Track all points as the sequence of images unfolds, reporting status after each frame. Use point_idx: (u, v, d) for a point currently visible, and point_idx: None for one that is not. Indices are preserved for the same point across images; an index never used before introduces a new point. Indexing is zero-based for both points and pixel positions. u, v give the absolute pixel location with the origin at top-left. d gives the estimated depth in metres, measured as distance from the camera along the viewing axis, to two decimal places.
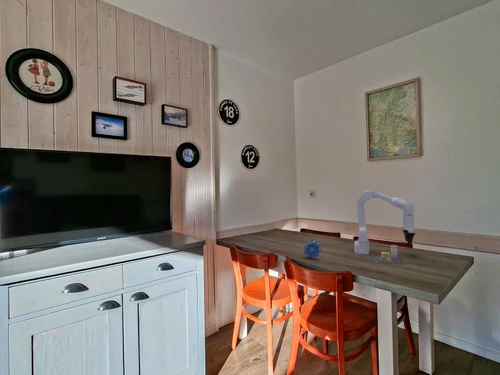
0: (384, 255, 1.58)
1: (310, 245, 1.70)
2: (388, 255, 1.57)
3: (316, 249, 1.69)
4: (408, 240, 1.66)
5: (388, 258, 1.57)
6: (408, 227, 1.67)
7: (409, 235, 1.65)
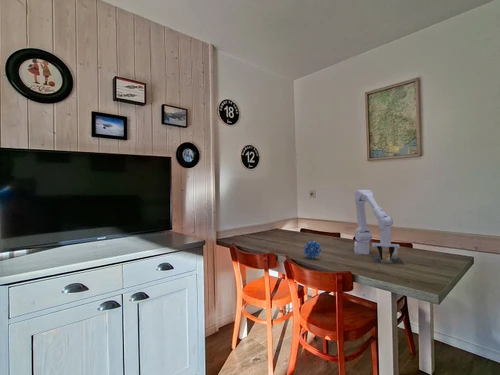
0: (384, 255, 1.58)
1: (310, 245, 1.70)
2: (388, 255, 1.57)
3: (316, 249, 1.69)
4: (380, 255, 1.61)
5: (388, 258, 1.57)
6: (380, 242, 1.61)
7: None
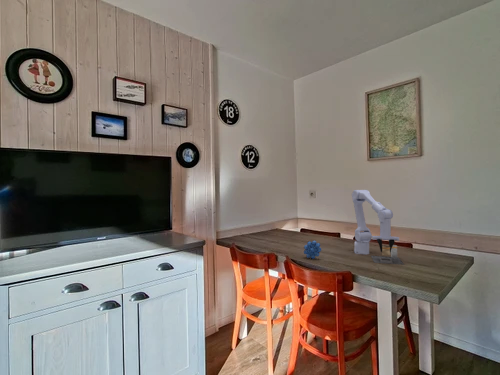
0: (384, 248, 1.58)
1: (310, 245, 1.70)
2: (388, 248, 1.57)
3: (316, 249, 1.69)
4: (380, 248, 1.61)
5: (388, 251, 1.57)
6: (380, 235, 1.61)
7: None
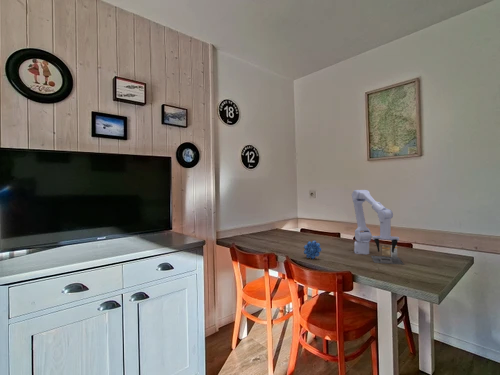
0: (384, 248, 1.58)
1: (310, 245, 1.70)
2: (388, 248, 1.57)
3: (316, 249, 1.69)
4: (377, 247, 1.61)
5: (388, 251, 1.57)
6: (380, 235, 1.61)
7: None
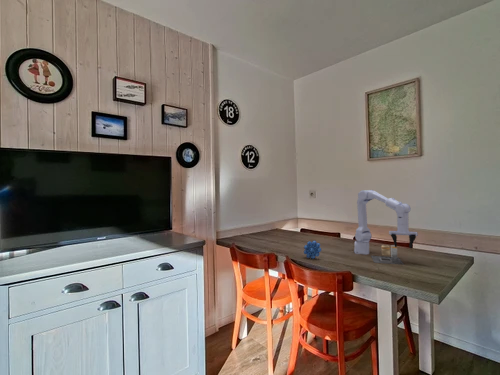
0: (384, 248, 1.58)
1: (310, 245, 1.70)
2: (388, 248, 1.57)
3: (316, 249, 1.69)
4: (394, 243, 1.57)
5: (388, 251, 1.57)
6: (397, 230, 1.56)
7: None
